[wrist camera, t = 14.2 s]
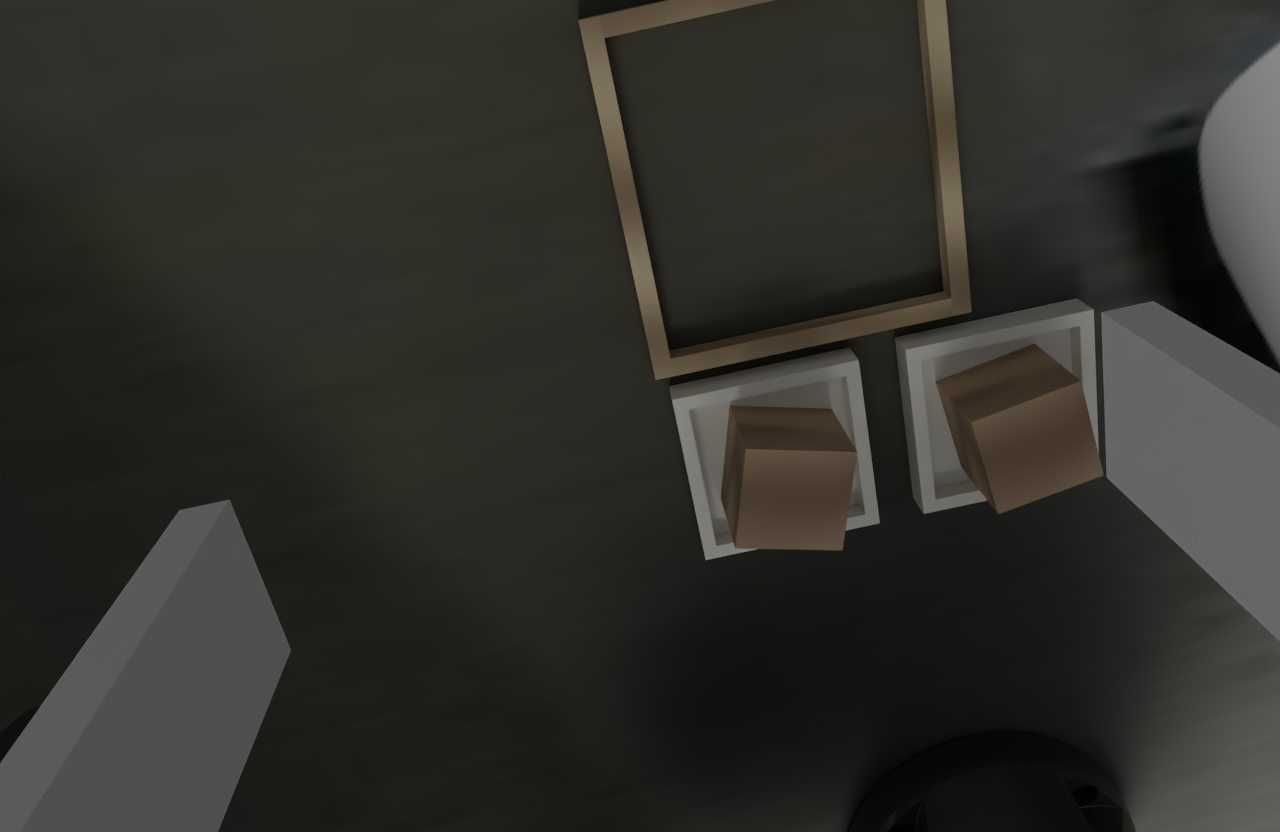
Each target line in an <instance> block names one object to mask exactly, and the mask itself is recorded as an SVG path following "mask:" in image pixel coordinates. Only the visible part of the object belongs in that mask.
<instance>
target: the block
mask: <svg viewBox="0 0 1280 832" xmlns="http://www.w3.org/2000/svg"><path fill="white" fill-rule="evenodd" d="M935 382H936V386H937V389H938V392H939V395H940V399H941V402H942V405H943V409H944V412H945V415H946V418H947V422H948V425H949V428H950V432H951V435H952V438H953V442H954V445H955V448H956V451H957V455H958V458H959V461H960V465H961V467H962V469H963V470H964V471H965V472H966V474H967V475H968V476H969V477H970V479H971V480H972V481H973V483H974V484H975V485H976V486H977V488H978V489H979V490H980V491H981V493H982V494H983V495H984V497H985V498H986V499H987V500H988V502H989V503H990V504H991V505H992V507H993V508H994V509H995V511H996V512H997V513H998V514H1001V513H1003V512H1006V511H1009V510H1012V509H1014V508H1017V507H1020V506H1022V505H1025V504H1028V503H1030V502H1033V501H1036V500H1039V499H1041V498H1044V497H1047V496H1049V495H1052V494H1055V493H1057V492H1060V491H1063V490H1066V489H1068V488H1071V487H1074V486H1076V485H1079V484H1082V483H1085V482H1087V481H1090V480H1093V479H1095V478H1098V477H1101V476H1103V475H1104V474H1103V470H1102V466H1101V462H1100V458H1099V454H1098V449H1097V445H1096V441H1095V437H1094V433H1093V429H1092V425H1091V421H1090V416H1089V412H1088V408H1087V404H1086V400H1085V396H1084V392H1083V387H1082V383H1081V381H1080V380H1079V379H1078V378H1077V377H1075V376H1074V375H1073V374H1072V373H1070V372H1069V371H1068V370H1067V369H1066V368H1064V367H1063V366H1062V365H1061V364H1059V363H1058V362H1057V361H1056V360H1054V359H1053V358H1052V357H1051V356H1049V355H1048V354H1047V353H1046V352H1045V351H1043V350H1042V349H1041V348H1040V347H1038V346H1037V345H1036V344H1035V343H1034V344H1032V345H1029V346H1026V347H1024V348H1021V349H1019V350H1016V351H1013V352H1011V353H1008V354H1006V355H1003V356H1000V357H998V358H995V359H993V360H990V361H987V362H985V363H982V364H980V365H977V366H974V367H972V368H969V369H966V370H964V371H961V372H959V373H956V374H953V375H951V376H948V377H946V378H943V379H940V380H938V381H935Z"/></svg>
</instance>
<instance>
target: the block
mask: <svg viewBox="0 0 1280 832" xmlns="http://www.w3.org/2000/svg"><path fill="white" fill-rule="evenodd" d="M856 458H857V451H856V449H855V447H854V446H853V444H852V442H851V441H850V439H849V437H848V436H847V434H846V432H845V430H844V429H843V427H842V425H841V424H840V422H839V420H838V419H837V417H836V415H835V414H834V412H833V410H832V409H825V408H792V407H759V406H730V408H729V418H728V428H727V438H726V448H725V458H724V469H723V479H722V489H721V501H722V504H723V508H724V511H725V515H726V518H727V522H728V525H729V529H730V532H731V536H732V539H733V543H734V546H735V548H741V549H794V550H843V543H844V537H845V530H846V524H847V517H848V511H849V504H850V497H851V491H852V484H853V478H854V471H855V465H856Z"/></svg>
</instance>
